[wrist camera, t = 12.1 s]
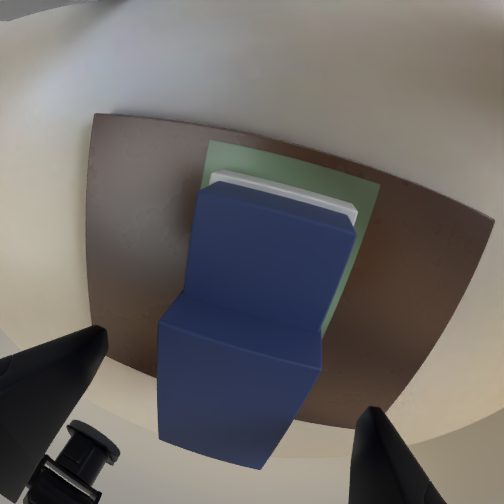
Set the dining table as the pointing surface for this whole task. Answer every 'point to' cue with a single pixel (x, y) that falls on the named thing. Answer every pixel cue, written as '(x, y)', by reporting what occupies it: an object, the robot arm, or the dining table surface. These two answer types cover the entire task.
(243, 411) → the blue stepped block
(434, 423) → the dining table surface
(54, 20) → the dining table surface
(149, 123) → the brown flat slab
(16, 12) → the vase
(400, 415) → the dining table surface
